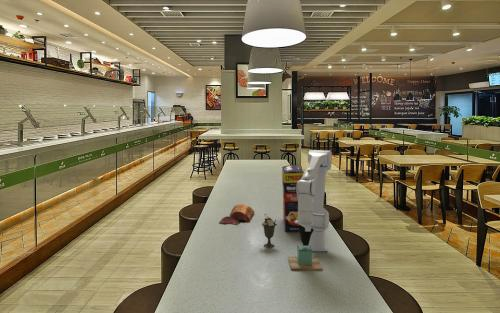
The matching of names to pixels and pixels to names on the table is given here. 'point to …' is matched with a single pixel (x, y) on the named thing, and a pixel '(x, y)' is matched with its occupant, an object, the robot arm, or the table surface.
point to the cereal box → (290, 196)
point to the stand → (297, 267)
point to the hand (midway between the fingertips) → (304, 243)
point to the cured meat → (239, 215)
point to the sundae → (269, 230)
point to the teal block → (304, 255)
